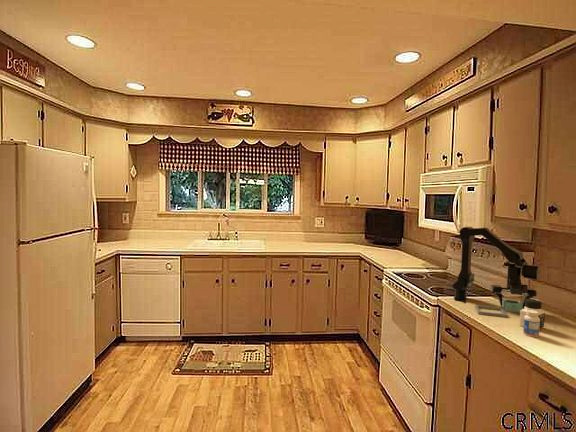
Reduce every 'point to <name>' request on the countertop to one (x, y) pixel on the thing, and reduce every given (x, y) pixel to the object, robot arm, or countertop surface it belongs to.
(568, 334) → the countertop surface
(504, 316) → the tray
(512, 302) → the brown peg stand
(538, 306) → the labeled white jar
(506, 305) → the ring
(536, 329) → the pill bottle
